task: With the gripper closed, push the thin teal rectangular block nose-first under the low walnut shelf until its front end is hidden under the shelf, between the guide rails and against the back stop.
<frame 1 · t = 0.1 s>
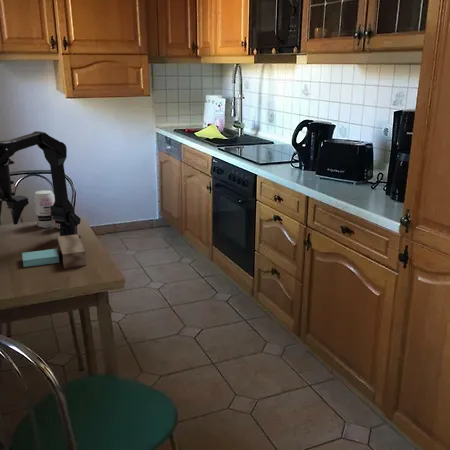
hand: (6, 222, 181), 15 cm above the table, tool pointing down, fingers open, 9 cm apart
teal rectangular block: (40, 260, 186), on the table
soda can: (64, 228, 223), on the table
supplement can: (47, 225, 226), on the table
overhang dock: (71, 257, 190), on the table
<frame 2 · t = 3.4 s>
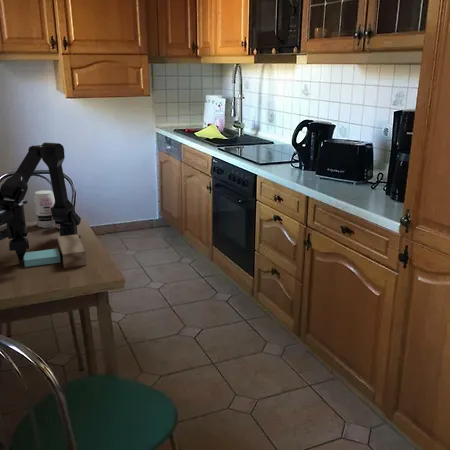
hand: (20, 260, 183), 1 cm above the table, tool pointing down, fingers closed, pressing on teal rectangular block
teal rectangular block: (42, 260, 186), on the table, touching gripper
everything else where it was.
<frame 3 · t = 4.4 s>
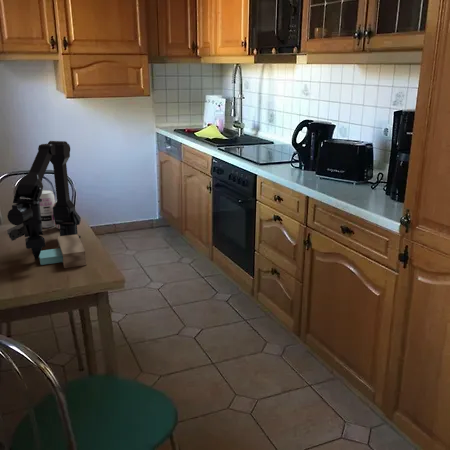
hand: (36, 258, 185), 1 cm above the table, tool pointing down, fingers closed, pressing on teal rectangular block
teal rectangular block: (57, 258, 188), on the table, touching gripper
everything else where it was.
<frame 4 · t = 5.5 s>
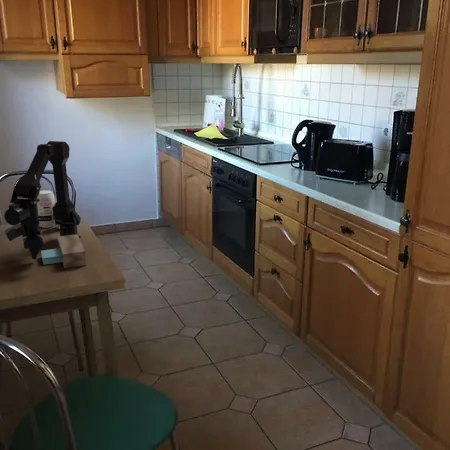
hand: (34, 258, 185), 1 cm above the table, tool pointing down, fingers closed
teal rectangular block: (59, 258, 188), on the table
everything else where it was.
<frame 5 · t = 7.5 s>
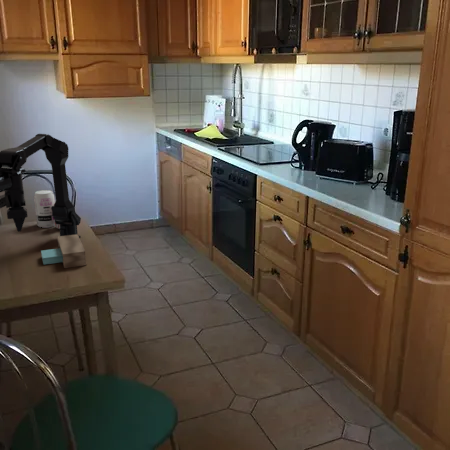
hand: (19, 231, 180), 12 cm above the table, tool pointing down, fingers closed
nothing on the table moved.
at the end: teal rectangular block 0.4 cm from the target spot on the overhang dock, point 0.0 cm above the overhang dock's base; teal rectangular block tilted 0° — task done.
